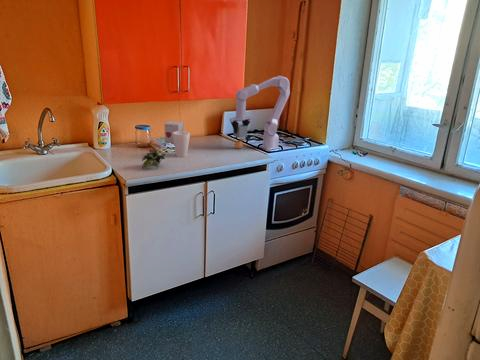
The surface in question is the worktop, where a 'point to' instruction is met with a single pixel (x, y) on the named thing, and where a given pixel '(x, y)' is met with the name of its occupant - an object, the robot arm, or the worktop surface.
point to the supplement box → (172, 130)
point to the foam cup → (181, 142)
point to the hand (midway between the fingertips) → (239, 132)
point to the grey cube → (241, 131)
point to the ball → (239, 144)
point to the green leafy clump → (153, 158)
